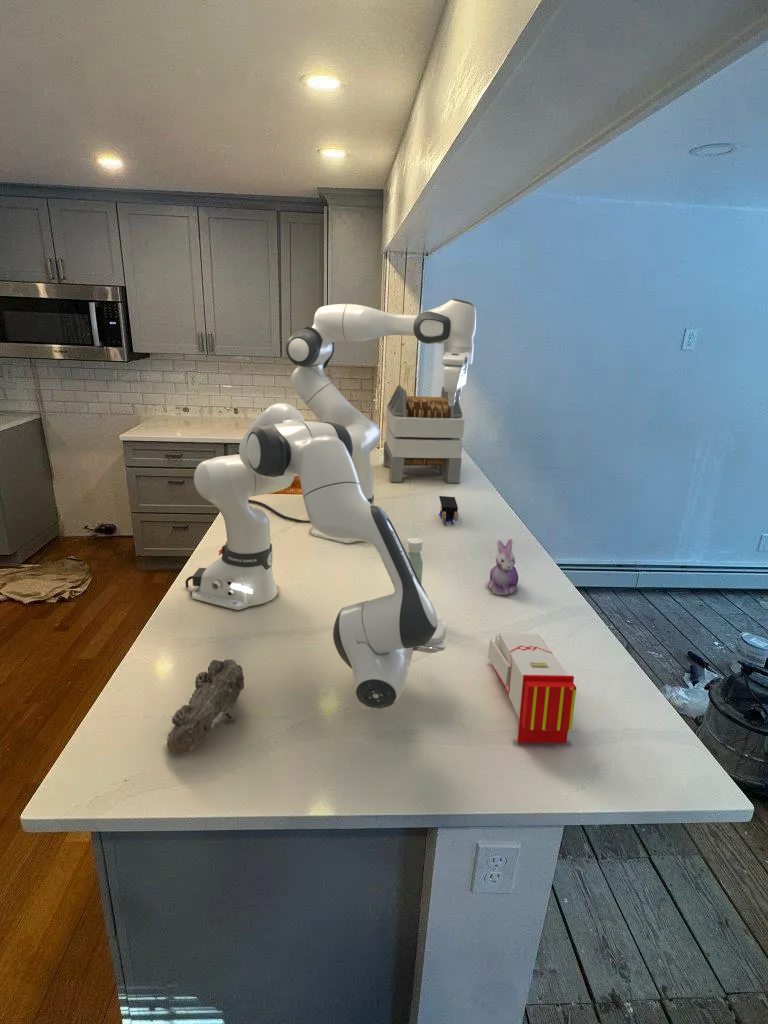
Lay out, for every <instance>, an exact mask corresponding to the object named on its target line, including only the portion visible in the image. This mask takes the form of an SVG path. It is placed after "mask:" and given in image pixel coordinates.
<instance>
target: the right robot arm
mask: <svg viewBox="0 0 768 1024" xmlns="http://www.w3.org/2000/svg"><path fill="white" fill-rule="evenodd" d="M476 327H477V309H476V306H475V305H474V304H473V303H472V302H470V301H467V300H463V299H458V298H451V299H450V300H448V301H447V302H445V303H444V304H441V305H439V306H437V307H435V308H431V309H427V310H424V311H422V312H421V313H419V314H399V313H391V312H386V311H383V310H380V309H377V308H374V307H370V306H366V305H361V304H355V303H335V304H327V305H322V306H320V307H318V308H317V309H316V311H315V313H314V317H313V325H312V326H310V325H306V326H305V327H303V328H301V329H299V330H298V331H295V333H293V334H292V335H291V336H290V337H289V338H288V339H287V340H286V344H285V354H286V357H287V359H289V361H290V362H292V364H294V365H296V366H297V367H295V369H294V370H293V371H292V373H291V375H290V380H291V381H290V383H291V384H292V386H293V388H294V390H295V391H296V393H297V395H298V396H299V397H300V399H301V400H302V401H303V403H304V404H305V405H306V407H307V408H308V409H309V410H310V411H311V412H312V413H313V415H314V416H315V417H316V418H317V419H318V420H319V421H320V422H332V423H336V424H339V425H342V426H344V427H345V428H346V429H347V431H348V432H349V434H350V436H351V438H352V442H353V454H352V458H351V459H352V461H353V464H354V467H355V469H356V472H357V475H358V479H359V482H360V486H361V489H362V492H363V494H364V496H365V497H366V499H367V500H368V501H369V502H370V503H371V504H372V505H374V506H375V496H374V472H373V470H372V466H371V465H372V464H371V460H370V459H371V457H370V455H371V452H372V451H373V450H374V449H376V448H377V446H378V445H379V442H380V439H381V436H382V435H381V429H380V427H379V425H378V424H377V423H376V422H375V421H373V420H371V419H369V418H368V417H366V415H364V414H363V413H362V412H361V411H360V410H358V409H357V408H356V407H355V406H353V404H352V403H350V402H349V400H347V399H346V398H345V397H344V396H343V394H342V393H341V392H340V391H339V389H338V388H337V387H336V386H335V385H334V384H333V382H332V381H331V380H330V379H329V378H328V377H327V376H326V374H325V372H324V369H326V368H327V366H328V365H329V362H330V360H331V359H332V357H333V356H334V352H335V350H336V343H335V342H353V343H356V342H366V341H371V340H376V339H378V338H384V337H388V336H409V337H415V338H416V339H417V340H418V341H420V343H423V344H426V345H434V344H435V345H436V344H443V354H442V362H441V364H442V365H443V387H444V390H445V392H448V400H449V401H448V405H449V406H454V405H455V402H460V400H461V393H462V390H463V388H464V387H465V386H466V383H467V373H468V368H469V365H473V360H474V359H473V358H474V347H475V345H474V337H475V334H476ZM248 503H252V504H256V505H260V506H262V507H264V508H266V509H267V510H269V511H271V512H272V513H273V514H275V515H276V516H277V517H278V516H279V517H281V518H283V519H285V520H288V521H292V522H296V523H302V524H303V523H305V524H311V522H310V520H309V519H308V520H302V519H299V518H294V517H290V516H287V515H284V514H282V513H280V512H278V511H277V510H276V509H274V508H273V507H271V506H269V505H268V504H266V503H264V502H261V501H259V500H258V501H257V500H254V499H248ZM310 533H311V536H315V537H319V538H323V539H326V540H330V541H336V542H339V543H343V544H352V543H357V542H361V541H360V540H349V539H339V538H333V537H329V536H326V535H324V534H322V533H321V532H319V531H318V530H317V529H315V528H314V526H313V525H312V528H311V530H310Z"/></svg>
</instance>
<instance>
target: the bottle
mask: <svg viewBox="0 0 768 1024" xmlns="http://www.w3.org/2000/svg"><path fill="white" fill-rule="evenodd" d="M407 556H408V558H409V560H410V562H411V564H412V566H413V569H414V571H415V573H416V575H417V577H418V579H419V581H420V583H421V584H422V581H423V568H424V562H423V558H422V555H421V551H420V552H410V551H408V552H407Z"/></svg>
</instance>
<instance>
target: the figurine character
mask: <svg viewBox="0 0 768 1024" xmlns="http://www.w3.org/2000/svg"><path fill="white" fill-rule="evenodd" d="M439 501H440V506H439V513H438V515H439V517H440V520H441V521H443V525H447V523H450V524H451V526H454V525H455V523H454V522H458V520H459V512H458V511H459V507H458V503H457V500H456V496H444V495H439Z"/></svg>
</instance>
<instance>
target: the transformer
mask: <svg viewBox="0 0 768 1024" xmlns="http://www.w3.org/2000/svg"><path fill="white" fill-rule="evenodd" d="M440 393H441V394H440V396H415V395H414V396H413V395H412V396H411V395H407V394H408V393H407V390H406V389H404V388H403V387H402V385H399V384H398V385H397V386H396V388H395V390H394V392H393V394H392V395H391V398H390V400H389V402H388V404H387V405H386V413H385V414H386V415H385V423H386V428H385V438H384V442H383V466H384V467H388V468H389V475H388V476H389V477H388V478H389V480H390V482H391V483H402V482H403V475H404V469H405V466H406V467H407V466H411V467H412V466H413V467H415V466H416V467H417V466H418V467H436V468H437V470H438V469H439V473H440V474H441V475H443V478H444V479H445V481H446V482H447V483H449V484H455V483H456V484H459V483H461V472H462V461H463V460H462V453H463V442H464V441H463V440H462V439H463V438H464V431H465V430H464V429H465V419H464V418H463V411H462V408H461V405H460V401H458V402H455V405H454V406H449V405H448V401H449V400H448V392H445V390H444V386H442V387H441V392H440Z"/></svg>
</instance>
